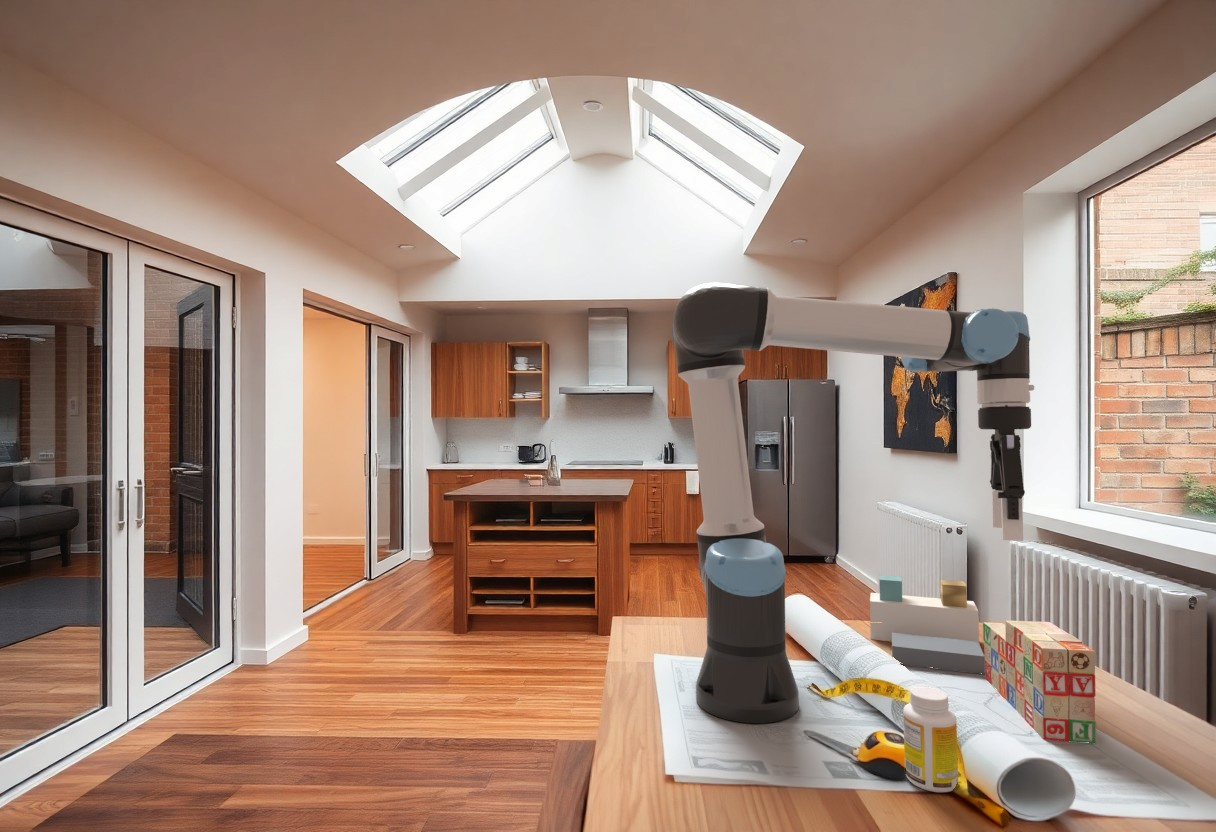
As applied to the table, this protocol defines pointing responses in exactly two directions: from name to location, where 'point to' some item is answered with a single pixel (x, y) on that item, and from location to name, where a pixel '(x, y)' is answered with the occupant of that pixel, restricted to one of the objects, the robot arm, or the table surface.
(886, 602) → the off-white rectangular block
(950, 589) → the golden brown cube
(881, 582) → the teal cube
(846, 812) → the table surface
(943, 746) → the supplement bottle
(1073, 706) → the stack of blocks
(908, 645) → the block
